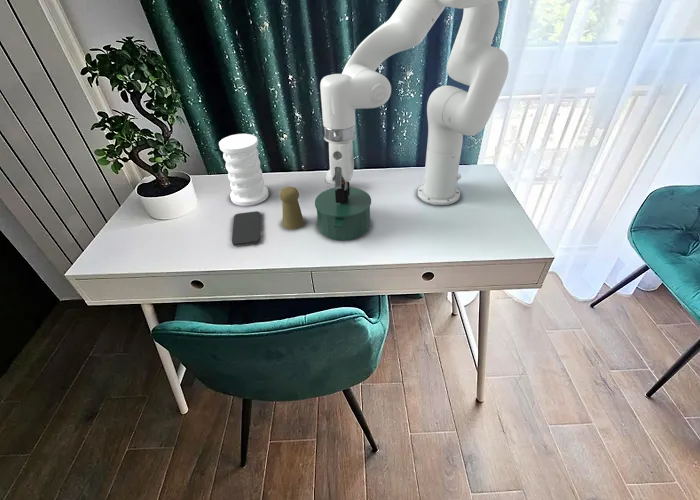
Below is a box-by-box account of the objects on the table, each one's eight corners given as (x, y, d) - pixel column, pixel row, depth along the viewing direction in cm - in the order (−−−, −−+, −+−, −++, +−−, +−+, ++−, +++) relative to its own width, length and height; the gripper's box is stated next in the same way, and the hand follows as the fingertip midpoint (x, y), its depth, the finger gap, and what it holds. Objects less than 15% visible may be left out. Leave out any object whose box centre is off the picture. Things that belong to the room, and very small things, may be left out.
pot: (372, 207, 118) (372, 184, 113) (366, 248, 103) (366, 224, 98) (324, 205, 120) (322, 183, 115) (312, 245, 104) (309, 222, 100)
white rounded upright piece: (324, 184, 130) (323, 163, 125) (347, 182, 130) (346, 161, 126) (327, 200, 122) (325, 178, 117) (351, 198, 123) (350, 176, 118)
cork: (300, 230, 110) (295, 195, 103) (279, 228, 111) (273, 193, 104) (306, 218, 115) (302, 184, 108) (286, 216, 116) (281, 182, 109)
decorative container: (223, 199, 124) (208, 144, 113) (249, 183, 132) (238, 130, 121) (250, 209, 119) (237, 153, 108) (276, 192, 127) (267, 138, 116)
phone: (260, 210, 117) (260, 240, 105) (260, 213, 117) (260, 243, 106) (234, 213, 116) (231, 244, 104) (234, 216, 117) (232, 246, 105)
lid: (373, 190, 112) (373, 171, 108) (369, 221, 100) (368, 200, 97) (320, 189, 114) (318, 169, 110) (310, 218, 102) (307, 198, 98)
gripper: (351, 146, 88) (353, 216, 99) (358, 119, 100) (359, 184, 112) (317, 145, 89) (323, 215, 100) (329, 118, 101) (333, 183, 113)
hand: (342, 198), depth 106 cm, fingers closed on lid, 2 cm apart
